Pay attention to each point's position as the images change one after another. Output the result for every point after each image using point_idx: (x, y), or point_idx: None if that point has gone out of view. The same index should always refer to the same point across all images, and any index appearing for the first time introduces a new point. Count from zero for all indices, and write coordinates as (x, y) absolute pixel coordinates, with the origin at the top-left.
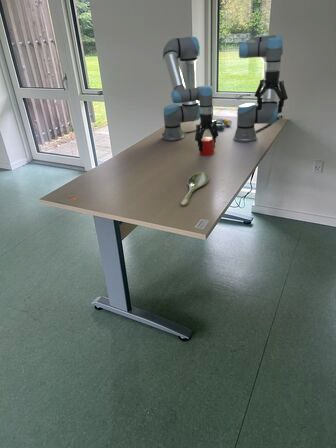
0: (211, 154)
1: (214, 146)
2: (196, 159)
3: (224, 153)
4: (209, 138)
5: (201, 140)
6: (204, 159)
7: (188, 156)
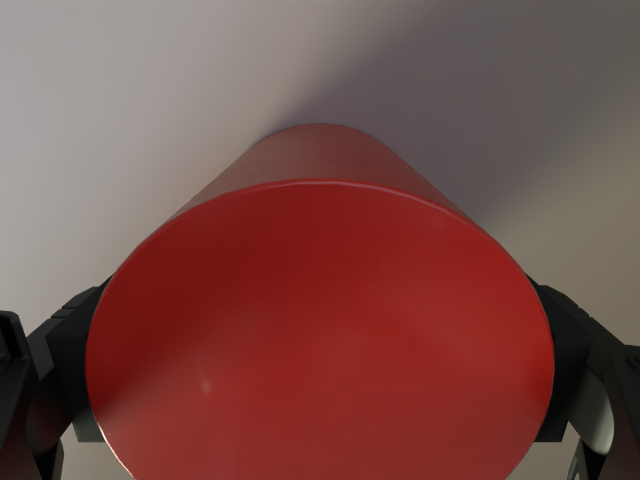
0: (307, 125)
1: None
2: (608, 119)
3: (78, 42)
4: (221, 392)
5: (542, 394)
6: (524, 22)
7: (583, 299)
